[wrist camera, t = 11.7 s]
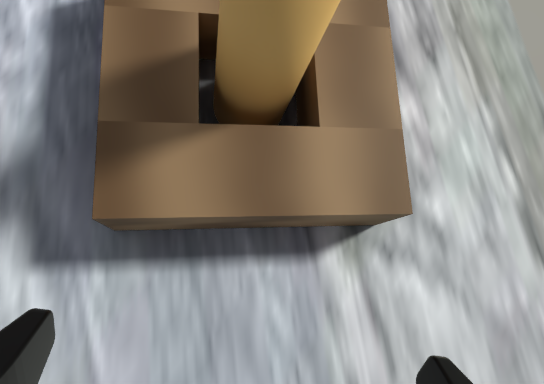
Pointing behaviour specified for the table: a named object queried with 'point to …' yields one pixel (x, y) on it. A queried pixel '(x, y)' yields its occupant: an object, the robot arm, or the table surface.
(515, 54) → the table surface
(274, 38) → the ochre pin
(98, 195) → the walnut hole block
